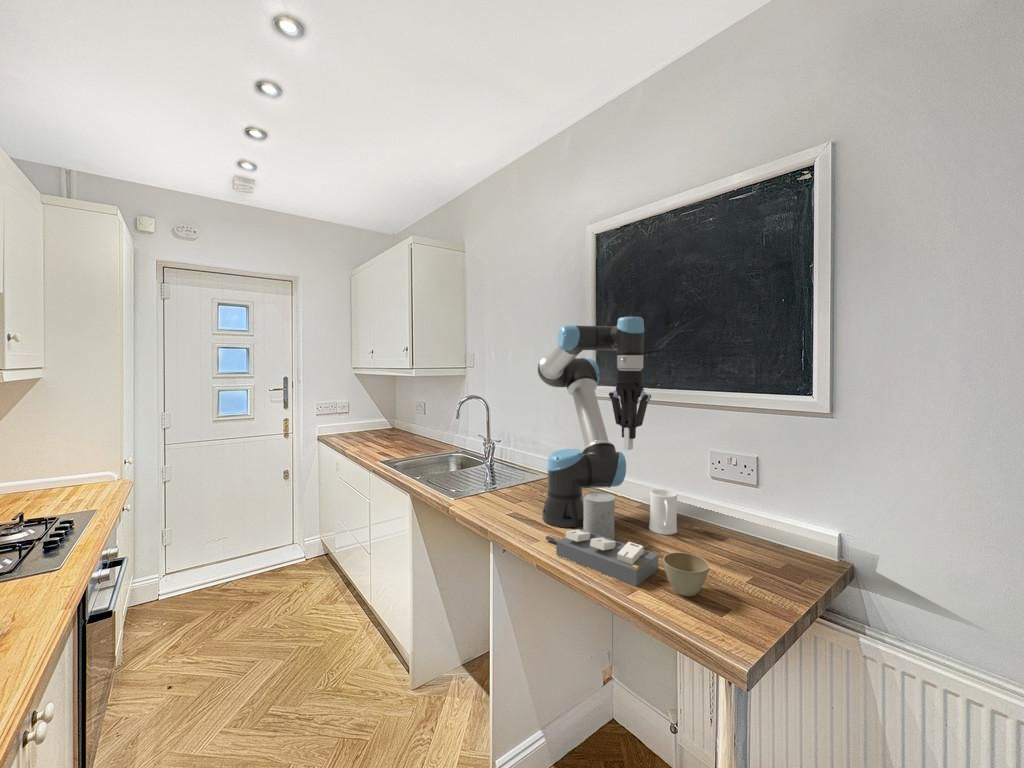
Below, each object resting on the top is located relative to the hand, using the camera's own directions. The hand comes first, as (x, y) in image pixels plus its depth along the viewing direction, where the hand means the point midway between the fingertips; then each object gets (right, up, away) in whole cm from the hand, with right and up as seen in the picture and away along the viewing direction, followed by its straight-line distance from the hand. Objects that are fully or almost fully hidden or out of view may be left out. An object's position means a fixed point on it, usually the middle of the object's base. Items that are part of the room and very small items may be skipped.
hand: (628, 449), depth 130 cm
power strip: (-13, -28, -10) cm, 33 cm away
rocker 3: (-5, -23, -20) cm, 31 cm away
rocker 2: (-10, -23, -14) cm, 29 cm away
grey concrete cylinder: (-8, -28, +5) cm, 29 cm away
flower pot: (+6, -30, -27) cm, 41 cm away
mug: (+13, -28, +8) cm, 32 cm away
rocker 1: (-16, -23, -9) cm, 29 cm away
